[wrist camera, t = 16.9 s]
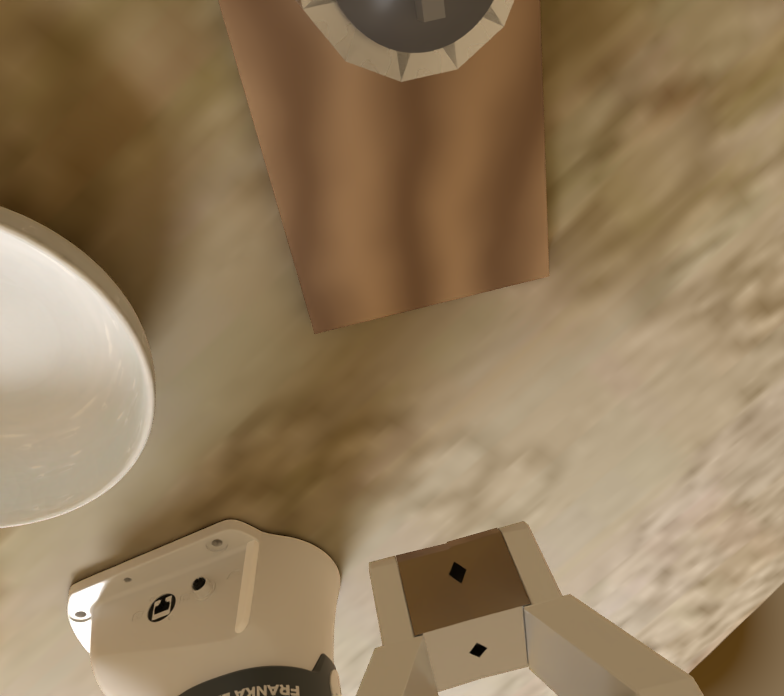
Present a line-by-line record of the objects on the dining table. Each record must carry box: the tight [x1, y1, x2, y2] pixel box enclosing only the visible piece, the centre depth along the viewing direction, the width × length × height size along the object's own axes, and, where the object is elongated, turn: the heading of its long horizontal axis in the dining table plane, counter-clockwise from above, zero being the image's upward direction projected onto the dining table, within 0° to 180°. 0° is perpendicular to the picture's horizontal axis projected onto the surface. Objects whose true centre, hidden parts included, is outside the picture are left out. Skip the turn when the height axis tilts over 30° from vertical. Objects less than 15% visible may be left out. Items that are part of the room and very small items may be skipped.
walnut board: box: [218, 0, 549, 334], centre depth 34 cm, size 16×26×2 cm, turn 10°
